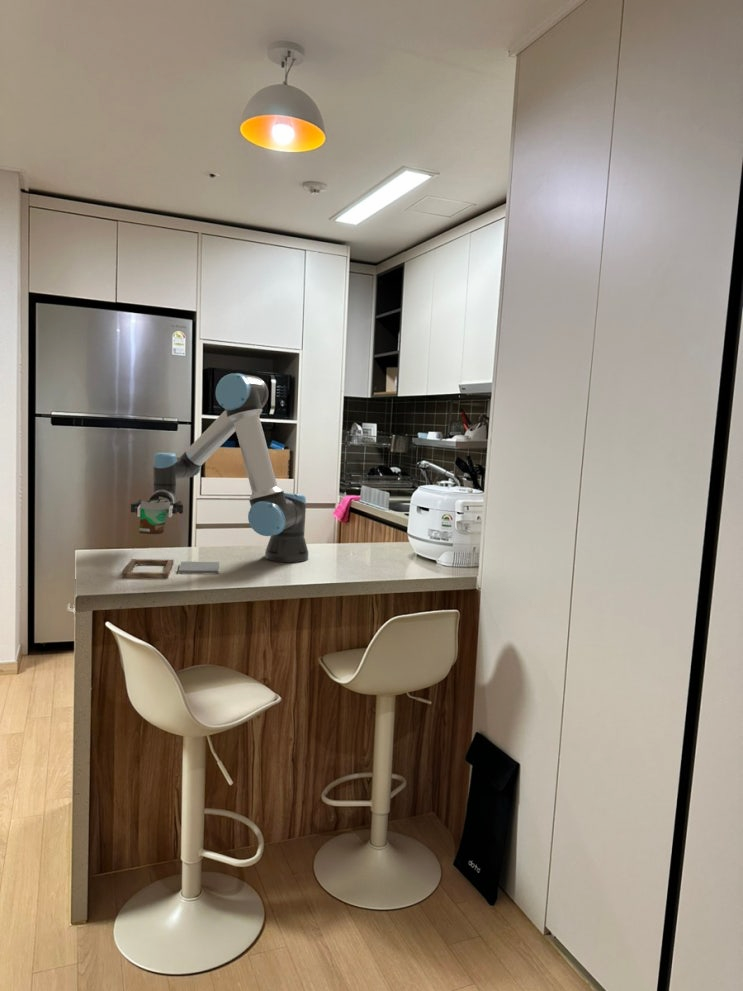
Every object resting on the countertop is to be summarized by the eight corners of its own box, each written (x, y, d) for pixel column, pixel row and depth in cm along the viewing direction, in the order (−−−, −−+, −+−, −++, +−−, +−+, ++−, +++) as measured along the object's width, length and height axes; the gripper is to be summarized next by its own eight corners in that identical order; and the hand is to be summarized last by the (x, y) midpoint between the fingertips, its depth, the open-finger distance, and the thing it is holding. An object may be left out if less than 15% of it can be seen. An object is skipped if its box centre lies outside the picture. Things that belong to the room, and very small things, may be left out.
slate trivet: (219, 565, 226) (219, 562, 226) (218, 573, 214) (218, 570, 214) (181, 564, 223) (181, 561, 223) (178, 573, 212) (178, 570, 212)
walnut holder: (173, 564, 223) (173, 559, 223) (167, 578, 205) (167, 573, 205) (131, 563, 221) (131, 559, 221) (122, 578, 202) (122, 573, 202)
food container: (155, 537, 206) (159, 505, 204) (136, 533, 207) (140, 501, 205) (174, 530, 218) (178, 499, 216) (156, 527, 219) (159, 496, 217)
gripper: (194, 513, 232) (190, 525, 210) (128, 512, 227) (117, 524, 205) (194, 491, 231) (190, 501, 209) (128, 490, 226) (117, 499, 204)
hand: (154, 512), depth 207 cm, fingers closed on food container, 8 cm apart
